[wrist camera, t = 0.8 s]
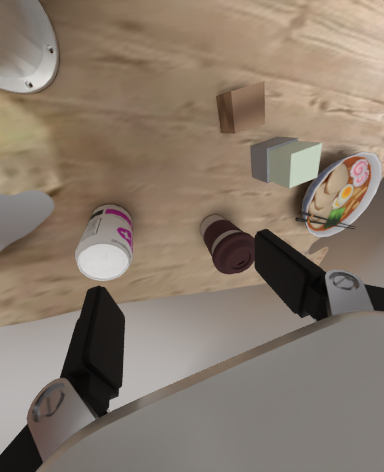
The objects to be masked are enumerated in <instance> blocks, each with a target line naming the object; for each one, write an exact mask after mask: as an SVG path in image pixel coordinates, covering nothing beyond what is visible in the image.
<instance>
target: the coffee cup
mask: <svg viewBox="0 0 384 472" xmlns="http://www.w3.org/2000/svg"><path fill="white" fill-rule="evenodd" d="M200 231H201V235H202V236H203V238H204V242H205V244H206V246H207V248H208V250H209V252H210V254H211V256H212V260H213V263H214V265H215V267H216V268H217V270H218V271H220V272H221V273H224V274H234V273H240V272H243V271H245V270H246V269H248V268H249V267H250V266H251V265H252V264H253V262H254V260H255V239H254V238H253V237H252V236H251V235H250V234H248V233H245V232H243V231H242V230H240V229H239V228H238V227H236V226H235V225H234V224H232V223H231V222H230V221H227V220H226V219H224V218H223V217H221V216H219V215H212V216H209V217H207V218H206V219H205V220H204V221H203V222H202V224H201V228H200Z"/></svg>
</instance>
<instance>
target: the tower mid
mask: <svg viewBox="0 0 384 472" xmlns="http://www.w3.org/2000/svg"><path fill="white" fill-rule="evenodd" d="M321 149H322V143H318V142H304V141H294V142H291V143H289V144H286V145H283V146H280V147H278V148H275V149H272V150H269V181H271V182H274V183H276V184H279V185H282V186H284V187H287V188H292V187H294V186H297V185H299V184H302V183H304V182H307V181H310V180H312V179H315V178H317V175H318V169H319V162H320V155H321Z"/></svg>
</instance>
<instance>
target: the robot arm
mask: <svg viewBox="0 0 384 472" xmlns="http://www.w3.org/2000/svg"><path fill="white" fill-rule="evenodd" d="M51 49H53V51H54V53H51V52H50V50H51ZM58 66H59V49H58V43H57V39H56V35H55V32H54V29H53V27H52V24H51V22H50V19H49V18H48V16H47V14H46V12H45V10H44V8H43V6H42V5H41V4H40V2H39V1H38V0H0V89H3V90H6V91H10V92H14V93H19V94H31V93H36V92H39V91H41V90H43V89H45V88H47V87H48V86H49V85H50V84H51V83H52V81H53V80H54V78H55V76H56V73H57V70H58ZM30 84H33V88H31V87H30ZM255 269H256V271H257V272H258V273H259V274H260V275H261V277H262V278H263V279H264V280H265V281H266V282H267V283H268V284H269V286H270V287H271V288H272V289H273V290H274V291H275V292H276V293H277V295H278V296H279V297H280V298H281V299H282V300H283V301H284V303H286V305H287V306H288V307H289V308H290V309H291V310H292V312H294V313H295V314H298V315H299V316H300V317H301V318H303V317H305V316H308V315H310V316H311V317H312V318H313V319H314V323H312V324H310V325H307V326H305V327H302V328H300V329H298V330H295V331H293V332H291V333H288V334H286V335H283V336H281V337H279V338H276V339H274V340H272V341H269V342H267V343H265V344H263V345H261V346H258V347H256V348H253V349H251V350H249V351H246V352H244V353H242V354H239V355H237V356H235V357H232V358H230V359H228V360H226V361H223V362H221V363H219V364H216V365H214V366H212V367H209V368H207V369H205V370H202V371H201V372H198V373H196V374H194V375H191V376H189V377H187V378H184V379H182V380H180V381H177V382H175V383H173V384H171V385H168V386H166V387H164V388H162V389H159V390H157V391H155V392H152V393H150V394H148V395H146V396H144V397H141V398H139V399H137V400H135V401H133V402H131V403H129V404H126V405H124V406H122V407H120V408H118V409H115V410H113V411H112V412H110V411H109V409H108V408H109V400H111V399H113V398H115V397H118V394H119V388H120V387H121V386H122V377H123V355H124V332H125V331H124V330H125V317H124V315H123V313H122V311H121V310H120V308H119V307H118V306H117V304H116V303H115V301H114V300H113V298H112V297H111V295H110V294H109V292H108V291H107V289H106V288H105V287H101V286H96V287H93V288H90V289H88V291H87V294H86V297H85V301H84V304H83V307H82V311H81V315H80V318H79V319H78V320H77V323H76V325H75V329H74V332H73V335H72V339H71V343H70V346H69V349H68V353H67V356H66V359H65V362H64V366H63V369H62V373H61V376H60V378H58V379H55V380H54V381H52V382H50V383H49V384H47V385H46V386H45V387H44V388H43V389H42V390H41V391H40V392H39V393H38V395H37V396H36V398H35V399H34V401H33V402H32V404H31V407H30V409H29V411H28V415H27V425H26V426H25V427H24V428H23V429H22V431H21V432H20V433H19V434H18V435H17V436H16V438H15V439H14V440H13V441H12V442H11V443H10V444H9V446H8V447H7V448H6V449H5V450H4V451H3V453H2V454H1V455H0V472H384V288H381V287H376V286H371V285H366V284H364V283H363V282H362V280H361V279H360V278H359V277H358V276H356V275H354V274H352V273H350V272H347V271H343V270H331V271H329V272H327V273H326V272H325V271H323V270H322V269H321V268H320V267H319V266H317V265H316V264H315V263H313V262H312V261H310V260H309V259H308V258H306V257H305V256H304V255H302V254H301V253H299V252H298V251H297V250H295V249H294V248H293V247H291V246H290V245H288V244H287V243H286V242H284V241H283V240H282V239H280V238H279V237H277V236H276V235H275V234H273V233H272V232H271V231H269V230H268V229H264V230H261V231H258V232H257V234H256V235H255Z"/></svg>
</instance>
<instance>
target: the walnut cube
mask: <svg viewBox="0 0 384 472" xmlns="http://www.w3.org/2000/svg"><path fill="white" fill-rule="evenodd" d="M216 98H217V106H218V113H219V121H220V128H221V133H237V132H240V131H243V130H246V129H249V128H252V127H255V126H258V125H261V124H264V123H265V97H264V81H263V82H260V83H256V84H253V85H250V86H247V87H243V88H240V89H237V90H233V91H230V92H227V93H225V94H222V95H219V96H217V97H216Z"/></svg>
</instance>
